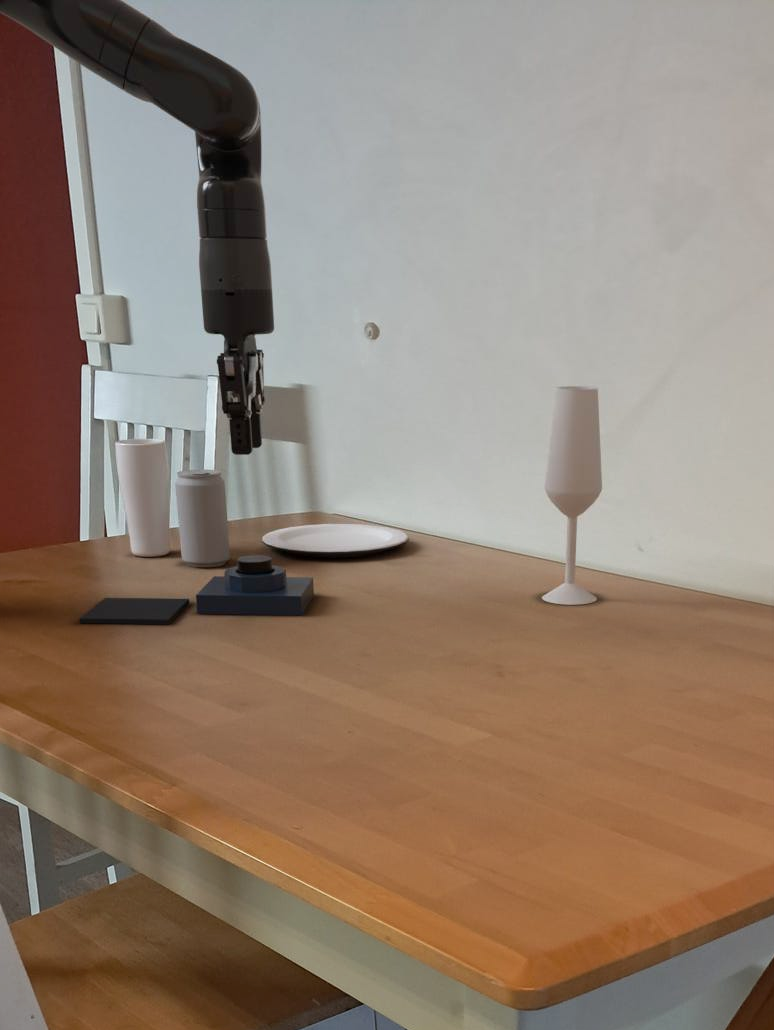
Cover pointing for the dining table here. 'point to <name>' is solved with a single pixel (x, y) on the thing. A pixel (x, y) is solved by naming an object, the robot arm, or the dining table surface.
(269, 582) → the button box
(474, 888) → the dining table surface
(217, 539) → the beverage can
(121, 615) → the coaster
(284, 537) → the plate
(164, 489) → the drinking glass
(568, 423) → the champagne flute
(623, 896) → the dining table surface
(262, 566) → the button
